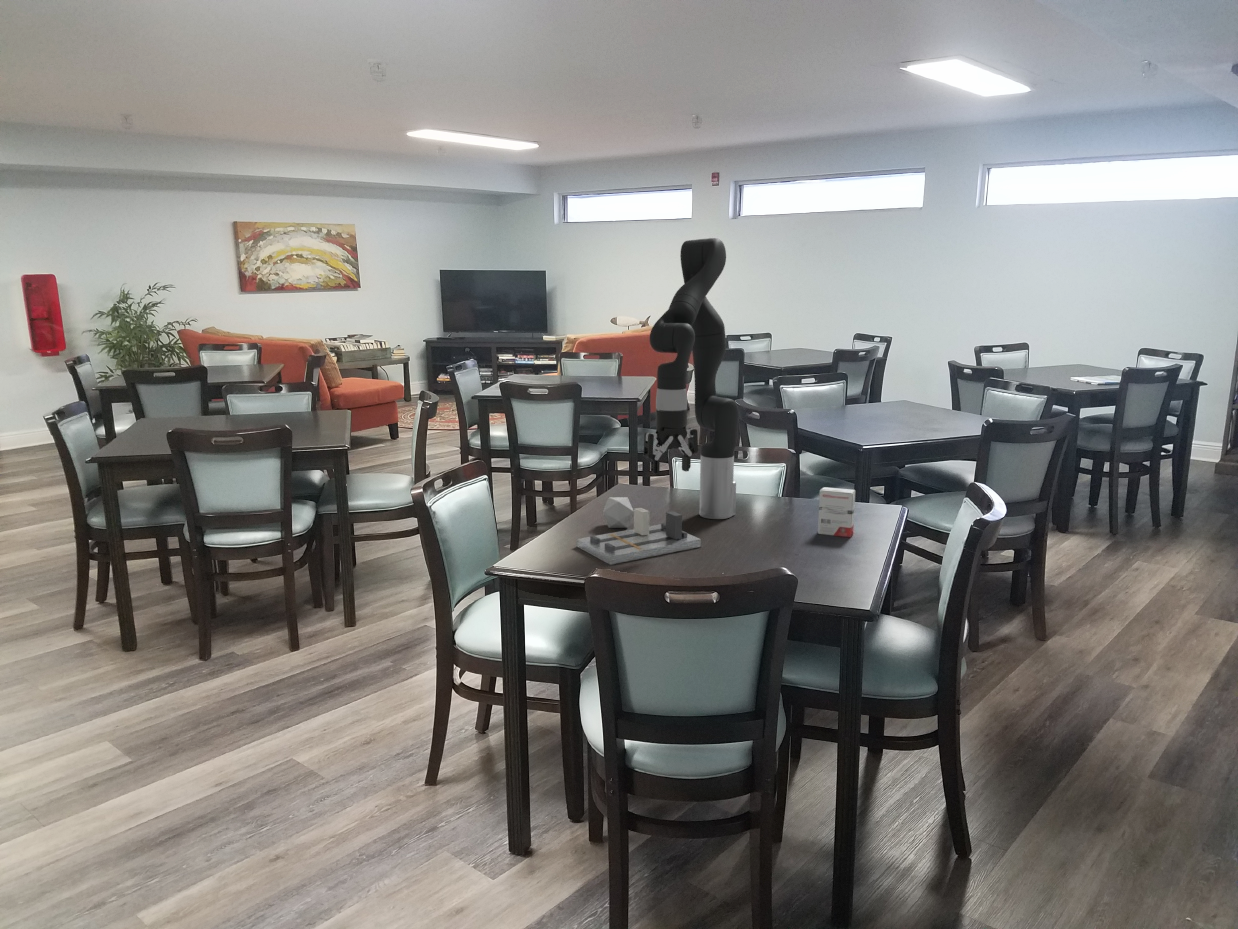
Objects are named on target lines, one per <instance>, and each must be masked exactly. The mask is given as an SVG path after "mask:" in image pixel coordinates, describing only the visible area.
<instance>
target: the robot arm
mask: <svg viewBox="0 0 1238 929" xmlns="http://www.w3.org/2000/svg"><path fill="white" fill-rule="evenodd" d="M726 262H727V250H726V247H725V244H724V242H723V240H722V239H719V238H715V237H714V238H713V237H712V238H711V237H709V238H700V239H692V240H685V241H684V242H683V243H682V245H681V247H680V266H681V271H682V272H681V273H682V278H683V283H684V284H682V286H680V287H679V288H678V290H677V291H676V292H675V294H674V296H673V298H672V299H671V302H670V305H669V307H668V309H667V310H666V311H665V312H664V313H663V314H661V316H660V317H659V318H658V319H657V320H656V321H655V323H653V326H652V328H651V330H650V333H649V344H650V346H651V348H652V350H654V351H655V352H657V353H664V354H676V357H675V358H674V360H673V361H670V362H664V363H663V362H662V363H661V364H659V365H658V366H657V372H656V376H657V377H656V393H655V395H656V396H655V428H656V431H655V433H654V432H645V433H644V434H643V435H644V436H643V437H644V438H643V450H642V451H643V452H642V453H643V454H642V455H643V457H644V458H647V459H650V472H651V473H652V475H654V476H660V473H661V472H660V471H661V465H660V463H661V462H660V461H661V460H660V458H661V456H662V455H663V454H664V453H665V452H666V451H667V450H669V451H670V450H673V449H676V450H678V449H679V451H680V453H681V454H682V455H681V470H682V471H683V472H689V471H690V468H692V467H691V466H692V465H691V459H692V455H694V454H698V452H699V439H698V438H699V437H698V435H699V434H698V430H697V429H696V428H692V427H689V428H688V429H687V425H688V392H687V380H688V378H687V377H688V376H687V373H688V368H689V363H690V358H691V354H692V359H693V360H692V361H693V375H694V416H695V420H696V422H697V425H699V427H701V428H702V429H705V430H709V431H714V432H713V437H712V440H711V441H708V442H704V443H702V445H701V447H700V469H699V472H700V473H699V478H700V479H699V512H698V514H699V516H700V517H702V518H705V519H708V520H709V519H711V520H725V519H728V518H731V517H733V516H735V515H736V504H737V502H736V501H737V481H734V476H735V474H734V473H735V472H734V471H735V470H734V469H735V449H736V447H737V443H738V436H739V423H740V410H739V407H738V404H737V402H736V401H735V400H733V399H731V398H726V397H719V396H718V395H717V390H716V379H717V378H716V377H717V373H718V371H719V368H720V366H721V364H722V361H723V359H724V357H725V354H726V350H727V341H726V340H727V338H726V328H725V323H724V321H723V319H722V317H721V316H720V314H719V313H718V311H717V310H716V309H715V307H714V306H713V305H712V304H711V302H710V301H709V299H708V298H707V295H708V294H709V292H710V291H711V289H712V287H713V286H714V285H715V283H716V282H717V280H718V279H719V278H720V276H721V274H722V272H723V271H724V268H725V266H726ZM686 438H688V439H687V442H686V441H685V439H686ZM655 441H656V443H655Z"/></svg>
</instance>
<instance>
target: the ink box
mask: <svg viewBox="0 0 1238 929" xmlns="http://www.w3.org/2000/svg"><path fill="white" fill-rule="evenodd" d="M818 495H819V500H818V518H817V519H818V525H817V534H819V535H824V536H825V535H826V536H835V537H842V538H851V537H853V534H854V529H855V528H854V527H855V525H854V524H855V510H856V509H855V508H856V507H855V505H856V490H855V489H849V488H848V489H847V488H839V487H838V488H837V487H827V486H826V487H825V486H823V487H822V488H820V490H819V494H818Z"/></svg>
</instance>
